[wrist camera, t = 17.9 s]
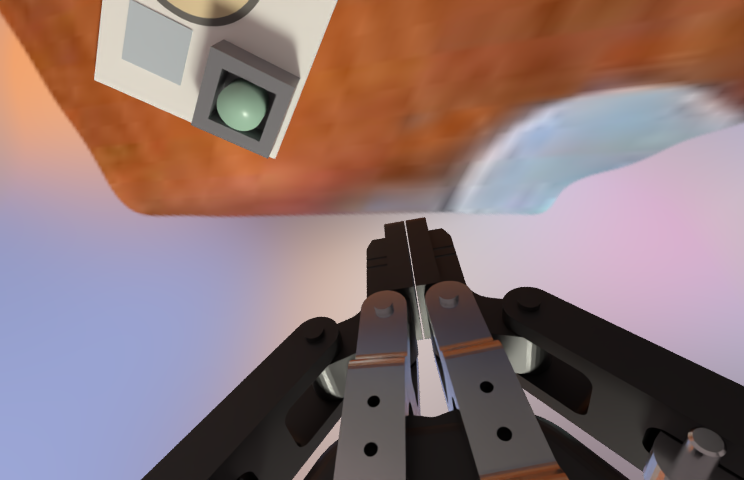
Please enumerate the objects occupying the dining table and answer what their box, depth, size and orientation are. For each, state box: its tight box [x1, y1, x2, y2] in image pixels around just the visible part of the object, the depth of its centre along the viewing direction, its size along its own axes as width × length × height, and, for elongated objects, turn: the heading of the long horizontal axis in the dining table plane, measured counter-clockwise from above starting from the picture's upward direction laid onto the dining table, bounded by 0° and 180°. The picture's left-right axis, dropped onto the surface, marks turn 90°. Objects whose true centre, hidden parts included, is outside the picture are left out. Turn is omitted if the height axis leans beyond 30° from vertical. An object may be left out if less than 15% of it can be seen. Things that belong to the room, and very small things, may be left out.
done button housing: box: [191, 39, 300, 158], centre depth 35 cm, size 7×7×4 cm
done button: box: [217, 78, 269, 131], centre depth 34 cm, size 4×4×3 cm
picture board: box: [94, 0, 338, 159], centre depth 33 cm, size 20×17×1 cm
